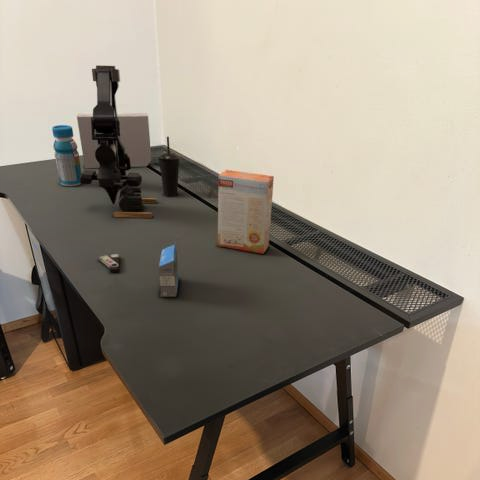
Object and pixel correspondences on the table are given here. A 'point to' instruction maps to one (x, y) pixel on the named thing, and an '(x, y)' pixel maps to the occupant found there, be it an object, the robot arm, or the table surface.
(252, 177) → the cracker box
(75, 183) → the beverage bottle
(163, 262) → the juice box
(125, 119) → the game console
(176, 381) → the table surface
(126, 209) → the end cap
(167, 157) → the drinking cup
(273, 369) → the table surface
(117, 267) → the usb flash drive
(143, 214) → the brown flat block
